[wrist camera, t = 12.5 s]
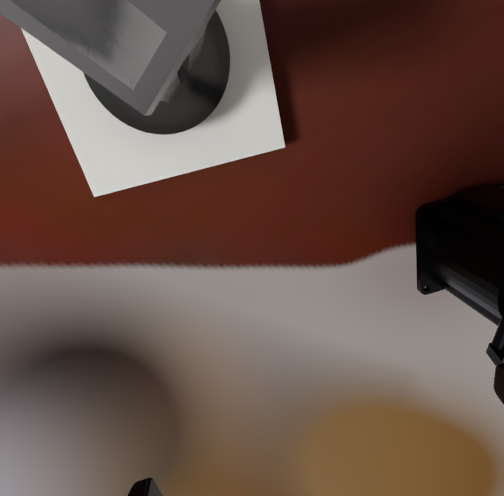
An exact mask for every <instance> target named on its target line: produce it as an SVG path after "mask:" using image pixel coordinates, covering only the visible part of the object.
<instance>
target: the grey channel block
mask: <svg viewBox="0 0 504 496" xmlns="http://www.w3.org/2000/svg"><path fill="white" fill-rule="evenodd" d="M220 2H221V0H0V13H1V14H2V15H4V16H5V17H6V18H8V19H9V20H11V21H12V22H13V23H15V24H16V25H18V26H19V27H20V28H22V29H23V30H25V31H26V32H28V33H29V34H30V35H32V36H33V37H35V38H36V39H37V40H39V41H40V42H42V43H43V44H44V45H46V46H47V47H49V48H50V49H51V50H53V51H54V52H56V53H57V54H58V55H60V56H61V57H63V58H64V59H66V60H67V61H68V62H70V63H71V64H73V65H74V66H75V67H77V68H78V69H80V70H81V71H82V72H83V73H84V76H85V79H86V81H87V83H88V84H89V86H90V88H91V90H92V92H93V93H94V95H95V96H96V98H97V99H98V100H99V101H100V103H101V104H102V105H103V106H104V107H105V108H106V109H107V110H108V111H109V112H110V113H111V114H112V115H113V116H115V117H116V118H117V119H119V120H120V121H122V122H123V123H125V124H126V125H128V126H130V127H132V128H135V129H137V130H140V131H143V132H146V133H152V134H161V135H167V134H176V133H180V132H184V131H186V130H189V129H191V128H193V127H195V126H197V125H199V124H200V123H201V122H203V121H204V120H205V119H206V118H207V117H208V116H209V115H210V114H211V113H212V112H213V111H214V110H215V108H216V107H217V106H218V104H219V102H220V100H221V99H222V97H223V94H224V92H225V89H226V86H227V83H228V79H229V72H230V50H229V43H228V39H227V35H226V32H225V28H224V26H223V23H222V21H221V19H220V17H219V15H218V13H217V11H216V8H217V7H218V5H219V3H220Z"/></svg>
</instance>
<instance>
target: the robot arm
mask: <svg viewBox="0 0 504 496" xmlns="http://www.w3.org/2000/svg"><path fill="white" fill-rule="evenodd" d="M426 211H427V213H426V215H425V216H423V215H424V213H425V212H426ZM416 252H417V253H416V255H417V289H418V291H420V292H421V293H422V294H424V295H426V294H430V293H433V292H437V291H440V290H443V289H446V290H447V291H449V292H450V293H452V294H453V295H454V296H456V297H457V298H459V299H460V300H462V301H463V302H465V303H466V304H467V305H469V306H470V307H472V308H473V309H474V310H476V311H477V312H479V313H480V314H482V315H483V316H484V317H486V318H488V319H489V320H490V321H492V322H493V323H495V324H496V325H498V328H497V331H496V334H495V336H494V338H493V341H492V343H489V346H488V348H487V351H486V353H487V354H488V356H489V357H490V358H491V360H492V361H493V363H494V364H495V365H496V369H495V378H494V390H495V392H496V394H497V396H498V397H499V399H500V400H501V401H502V403H503V404H504V183H501V184H498V185H494V186H493V185H484V186H480V187H477V188H473V189H470V190H466V191H463V192H459V193H456V194H453V195H452V196H450V198H448V199H445V200H441V201H438V202H434V203H430V204H427V205H423V206H421V207H420V208H419V209H418V210H417V212H416ZM425 286H426V288H425ZM128 496H163V495H162V493H161V491H160V490H159V488H158V486H157V485H156V483H155V481H154V479H153V478H147V479H144V480H141V481H138V482H136V483H135V484H134V485H133V486H132V488H131V490H130V492H129V494H128Z"/></svg>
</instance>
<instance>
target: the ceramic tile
mask: <svg viewBox="0 0 504 496" xmlns="http://www.w3.org/2000/svg"><path fill="white" fill-rule="evenodd" d="M216 11H217V13H218V15H219V17H220V19H221V21H222V23H223V26H224V28H225V32H226V35H227V39H228V43H229V50H230V72H229V79H228V83H227V86H226V89H225V92H224V94H223V97H222V99H221V100H220V102H219V104H218V106H217V107H216V108H215V110H214V111H213V112H212V113H211V114H210V115H209V116H208V117H207V118H206V119H205V120H204V121H203V122H201V123H200V124H199V125H197V126H195V127H193V128H191V129H189V130H186V131H184V132H180V133H176V134H167V135H161V134H152V133H146V132H143V131H140V130H137V129H135V128H132V127H130V126H128V125H126V124H125V123H123V122H122V121H120V120H119V119H117V118H116V117H115V116H113V115H112V114H111V113H110V112H109V111H108V110H107V109H106V108H105V107H104V106H103V105H102V104H101V103H100V101H99V100H98V99H97V98H96V96H95V95H94V93H93V92H92V90H91V88H90V86H89V84H88V83H87V81H86V79H85V76H84V73H83V72H82V71H81V70H80V69H78V68H77V67H75V66H74V65H73V64H71V63H70V62H68V61H67V60H66V59H64V58H63V57H61V56H60V55H58V54H57V53H56V52H54V51H53V50H51V49H50V48H49V47H47V46H46V45H44V44H43V43H42V42H40V41H39V40H37V39H36V38H35V37H33V36H32V35H30V34H29V33H28V32H26V31H25V30H23V29H22V28H21V29H22V31H23V34H24V36H25V38H26V41H27V43H28V45H29V47H30V50H31V52H32V54H33V57H34V59H35V61H36V64H37V66H38V68H39V71H40V73H41V75H42V77H43V80H44V82H45V84H46V87H47V89H48V91H49V94H50V96H51V98H52V101H53V103H54V105H55V107H56V110H57V112H58V114H59V117H60V119H61V121H62V124H63V126H64V128H65V131H66V133H67V135H68V137H69V140H70V142H71V144H72V147H73V149H74V151H75V154H76V156H77V158H78V161H79V163H80V165H81V167H82V170H83V172H84V174H85V177H86V179H87V181H88V184H89V186H90V188H91V191H92V193H93V195H94V197H96V196H100V195H104V194H108V193H112V192H115V191H119V190H123V189H127V188H131V187H135V186H138V185H142V184H146V183H150V182H154V181H158V180H162V179H165V178H169V177H173V176H177V175H181V174H185V173H188V172H192V171H196V170H200V169H204V168H208V167H212V166H215V165H219V164H223V163H227V162H231V161H235V160H238V159H242V158H246V157H250V156H254V155H258V154H261V153H265V152H269V151H273V150H277V149H281V148H285V143H284V138H283V132H282V126H281V121H280V115H279V109H278V104H277V98H276V92H275V87H274V81H273V75H272V70H271V64H270V58H269V53H268V47H267V41H266V36H265V30H264V24H263V19H262V13H261V7H260V1H259V0H221V2H220V3H219V5H218V7H217V8H216Z"/></svg>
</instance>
